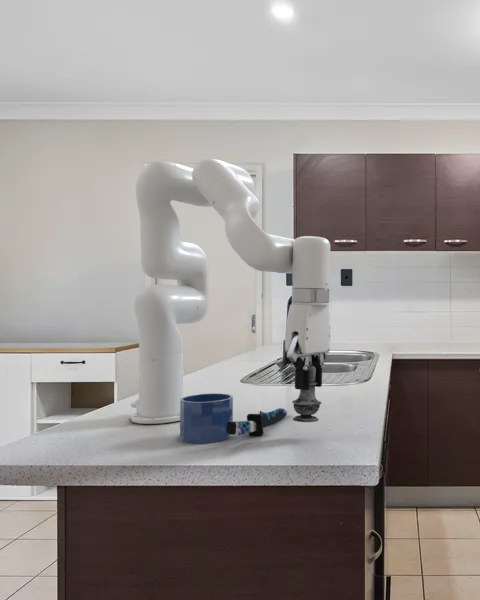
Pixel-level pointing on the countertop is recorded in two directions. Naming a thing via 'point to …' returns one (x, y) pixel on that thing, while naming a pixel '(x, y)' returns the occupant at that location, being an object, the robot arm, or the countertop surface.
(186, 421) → the blue cup
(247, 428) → the knife
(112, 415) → the countertop surface
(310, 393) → the salt shaker
